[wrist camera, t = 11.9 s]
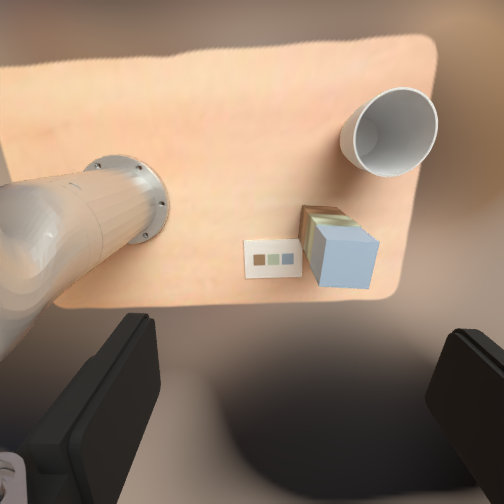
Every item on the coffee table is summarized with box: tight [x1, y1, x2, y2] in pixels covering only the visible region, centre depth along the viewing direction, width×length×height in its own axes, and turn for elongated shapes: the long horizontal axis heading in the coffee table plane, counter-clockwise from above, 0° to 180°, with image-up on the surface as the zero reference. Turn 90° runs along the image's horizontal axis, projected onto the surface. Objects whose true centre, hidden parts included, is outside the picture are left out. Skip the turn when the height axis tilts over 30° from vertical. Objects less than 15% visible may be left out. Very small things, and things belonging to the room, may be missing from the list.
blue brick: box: [310, 225, 380, 289], centre depth 29 cm, size 5×5×5 cm
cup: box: [340, 87, 438, 177], centre depth 31 cm, size 8×8×10 cm
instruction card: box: [244, 239, 303, 279], centre depth 42 cm, size 9×6×1 cm
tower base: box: [298, 205, 361, 263], centre depth 36 cm, size 5×5×10 cm
